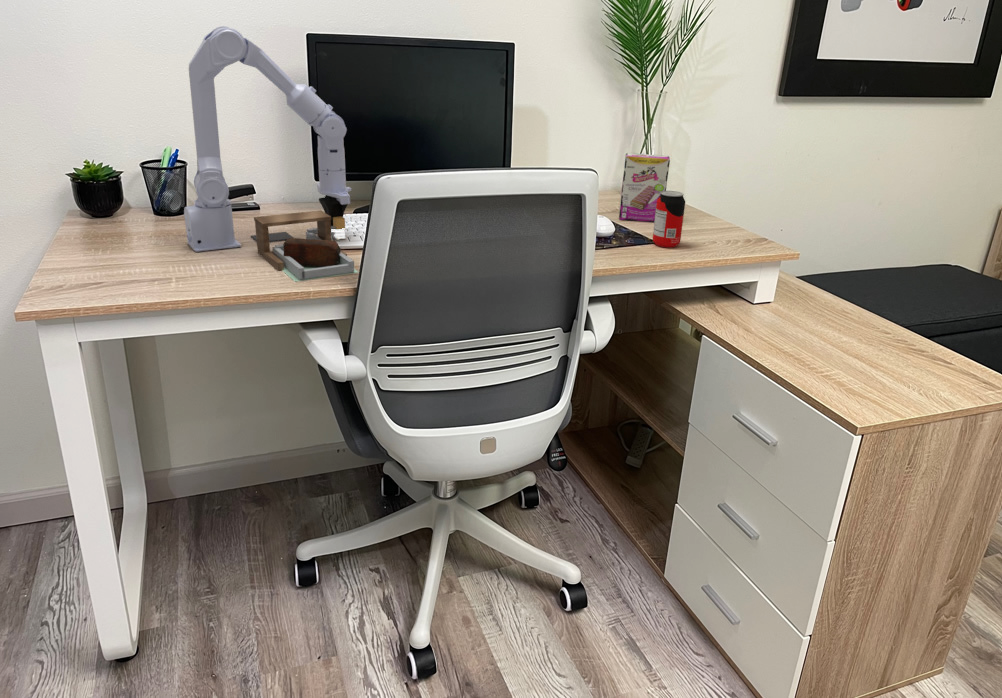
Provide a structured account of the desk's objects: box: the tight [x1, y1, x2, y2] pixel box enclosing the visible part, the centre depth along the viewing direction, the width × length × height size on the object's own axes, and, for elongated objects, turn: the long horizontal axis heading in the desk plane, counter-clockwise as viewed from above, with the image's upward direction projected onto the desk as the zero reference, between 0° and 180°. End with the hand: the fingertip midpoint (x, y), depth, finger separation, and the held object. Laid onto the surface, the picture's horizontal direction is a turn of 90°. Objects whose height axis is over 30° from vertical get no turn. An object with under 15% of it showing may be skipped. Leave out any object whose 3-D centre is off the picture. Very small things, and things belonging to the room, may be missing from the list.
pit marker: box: [250, 231, 295, 243], centre depth 174 cm, size 8×6×1 cm
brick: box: [283, 237, 341, 266], centre depth 156 cm, size 11×4×5 cm, turn 92°
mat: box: [281, 264, 359, 283], centre depth 154 cm, size 13×10×1 cm
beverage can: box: [652, 190, 686, 249], centre depth 177 cm, size 6×6×12 cm
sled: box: [272, 216, 355, 280], centre depth 161 cm, size 18×25×5 cm
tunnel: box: [253, 210, 348, 272], centre depth 160 cm, size 14×14×8 cm
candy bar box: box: [618, 152, 671, 223], centre depth 198 cm, size 11×5×16 cm, turn 82°
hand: (335, 229), depth 176 cm, fingers closed
